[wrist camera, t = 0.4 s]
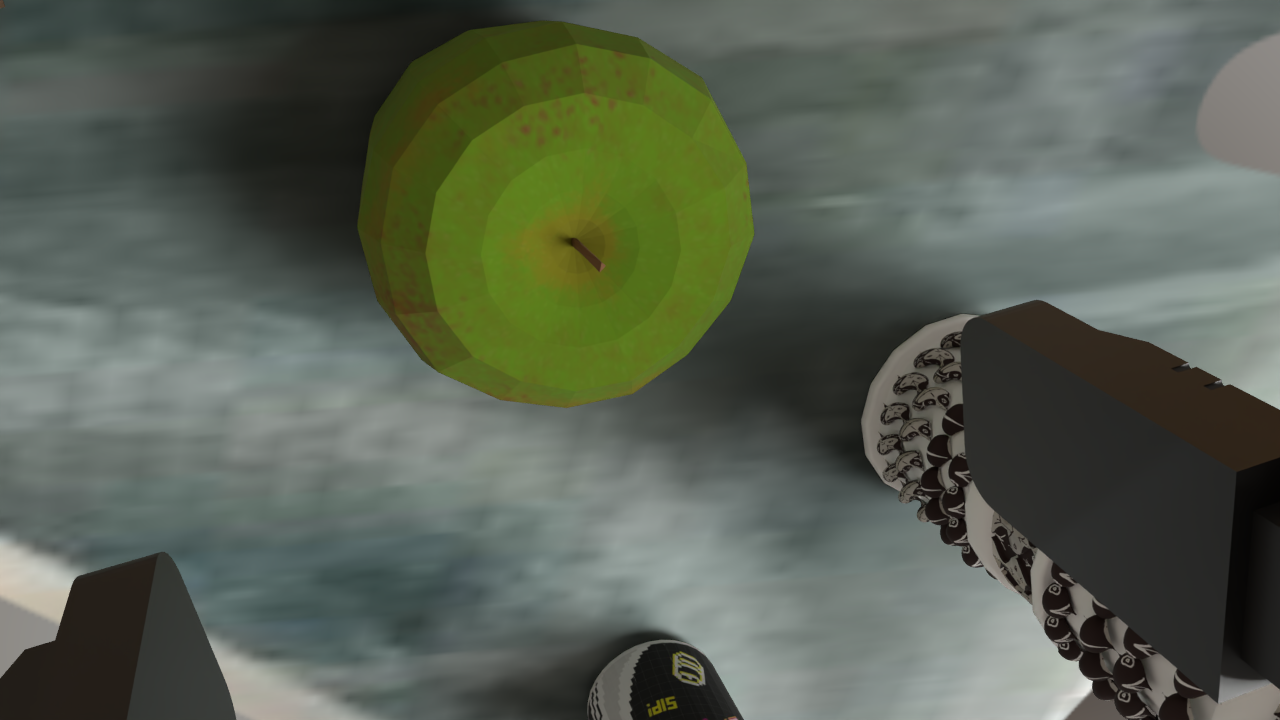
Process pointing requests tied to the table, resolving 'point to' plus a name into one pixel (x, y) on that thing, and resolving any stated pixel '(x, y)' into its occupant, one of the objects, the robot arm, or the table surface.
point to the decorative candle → (1016, 536)
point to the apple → (552, 211)
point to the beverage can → (660, 686)
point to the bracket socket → (2, 4)
